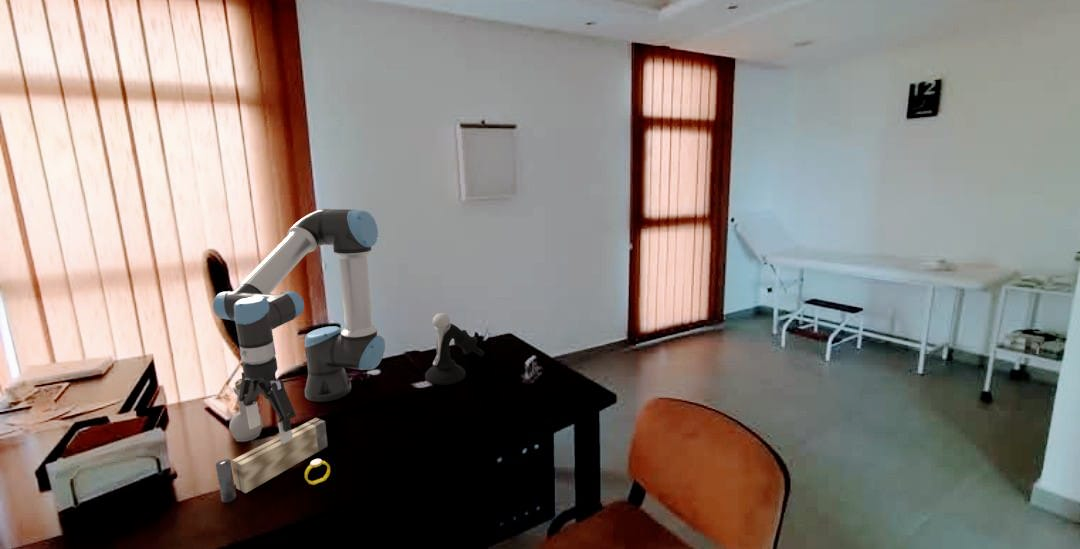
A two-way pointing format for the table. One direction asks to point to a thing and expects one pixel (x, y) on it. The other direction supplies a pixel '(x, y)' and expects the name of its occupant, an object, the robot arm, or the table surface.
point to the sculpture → (444, 366)
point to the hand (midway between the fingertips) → (270, 433)
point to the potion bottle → (243, 421)
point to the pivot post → (225, 480)
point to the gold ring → (315, 464)
